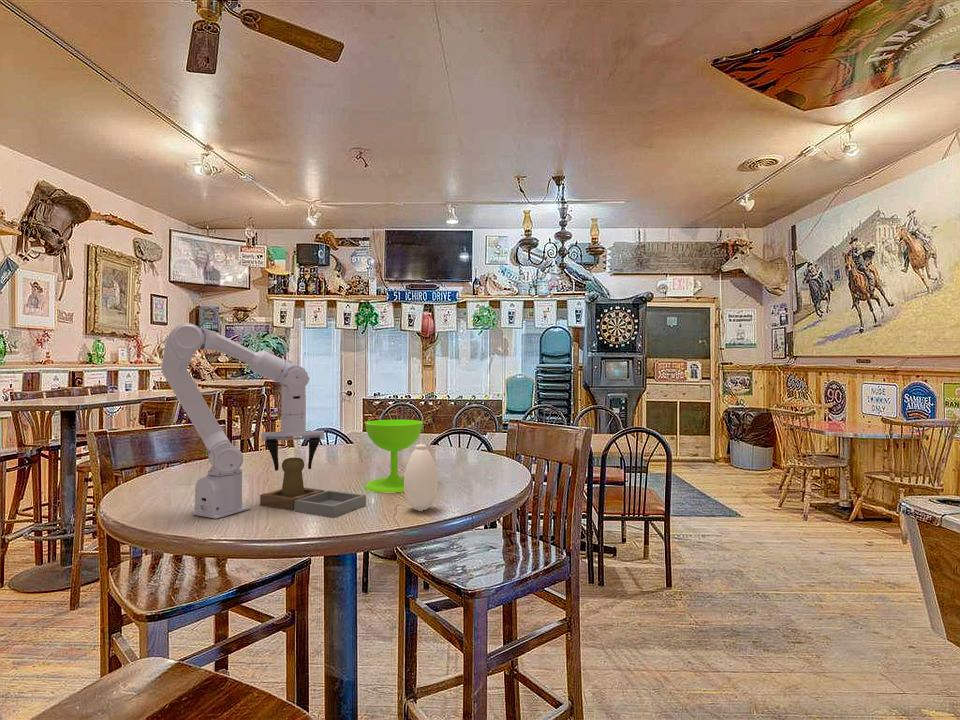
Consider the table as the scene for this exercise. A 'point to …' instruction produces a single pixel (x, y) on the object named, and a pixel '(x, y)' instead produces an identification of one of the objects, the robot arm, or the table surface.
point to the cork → (292, 477)
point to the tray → (329, 503)
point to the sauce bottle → (421, 478)
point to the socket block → (284, 498)
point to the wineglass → (392, 448)
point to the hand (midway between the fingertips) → (293, 469)
